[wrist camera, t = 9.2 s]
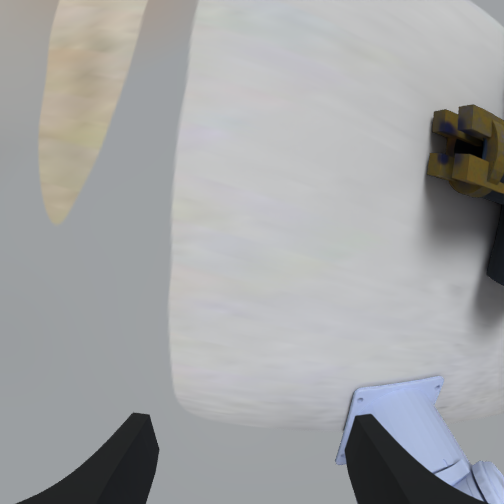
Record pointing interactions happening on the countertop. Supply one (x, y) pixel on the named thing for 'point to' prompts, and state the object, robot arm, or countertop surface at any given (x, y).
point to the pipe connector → (474, 164)
